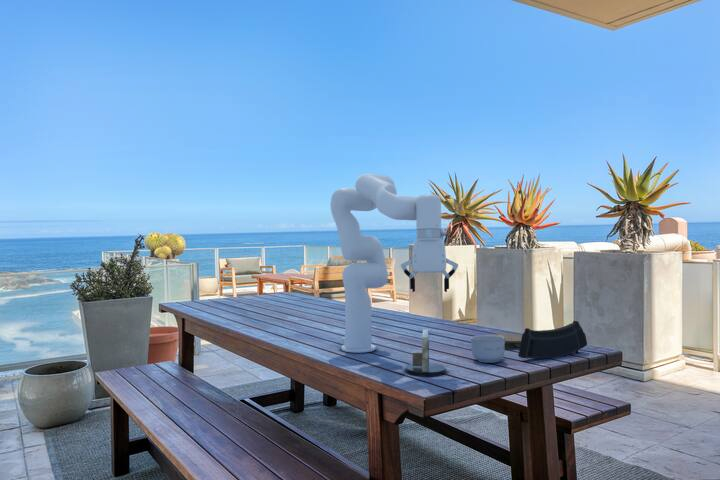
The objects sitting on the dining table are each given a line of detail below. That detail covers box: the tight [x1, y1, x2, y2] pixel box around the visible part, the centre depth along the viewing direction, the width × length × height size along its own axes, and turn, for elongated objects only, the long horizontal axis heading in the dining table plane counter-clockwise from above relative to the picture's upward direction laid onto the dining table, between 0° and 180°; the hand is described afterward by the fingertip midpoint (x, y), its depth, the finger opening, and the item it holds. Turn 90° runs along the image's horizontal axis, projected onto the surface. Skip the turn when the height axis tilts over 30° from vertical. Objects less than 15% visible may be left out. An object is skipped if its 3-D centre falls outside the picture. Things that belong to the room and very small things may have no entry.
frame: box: [412, 328, 430, 372], centre depth 151 cm, size 5×14×10 cm, turn 172°
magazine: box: [517, 320, 588, 360], centre depth 170 cm, size 17×3×30 cm
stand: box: [405, 362, 447, 377], centre depth 151 cm, size 12×12×1 cm
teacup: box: [470, 334, 506, 364], centre depth 165 cm, size 14×11×8 cm
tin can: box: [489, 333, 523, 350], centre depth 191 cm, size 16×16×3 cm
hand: (429, 291), depth 153 cm, fingers open, 9 cm apart
